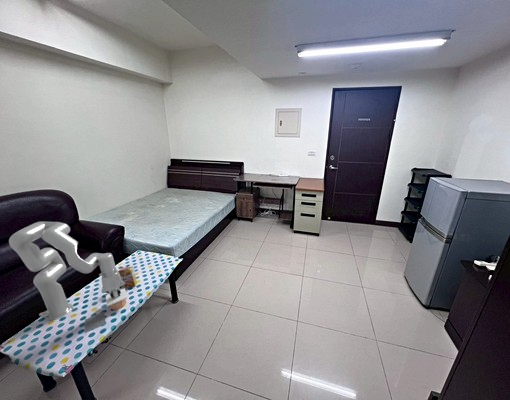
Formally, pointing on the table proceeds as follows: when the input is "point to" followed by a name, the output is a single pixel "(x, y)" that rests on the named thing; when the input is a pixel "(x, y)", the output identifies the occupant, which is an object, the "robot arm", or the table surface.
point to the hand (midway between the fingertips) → (116, 295)
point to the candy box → (128, 276)
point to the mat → (94, 322)
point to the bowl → (118, 304)
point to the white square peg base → (116, 297)
